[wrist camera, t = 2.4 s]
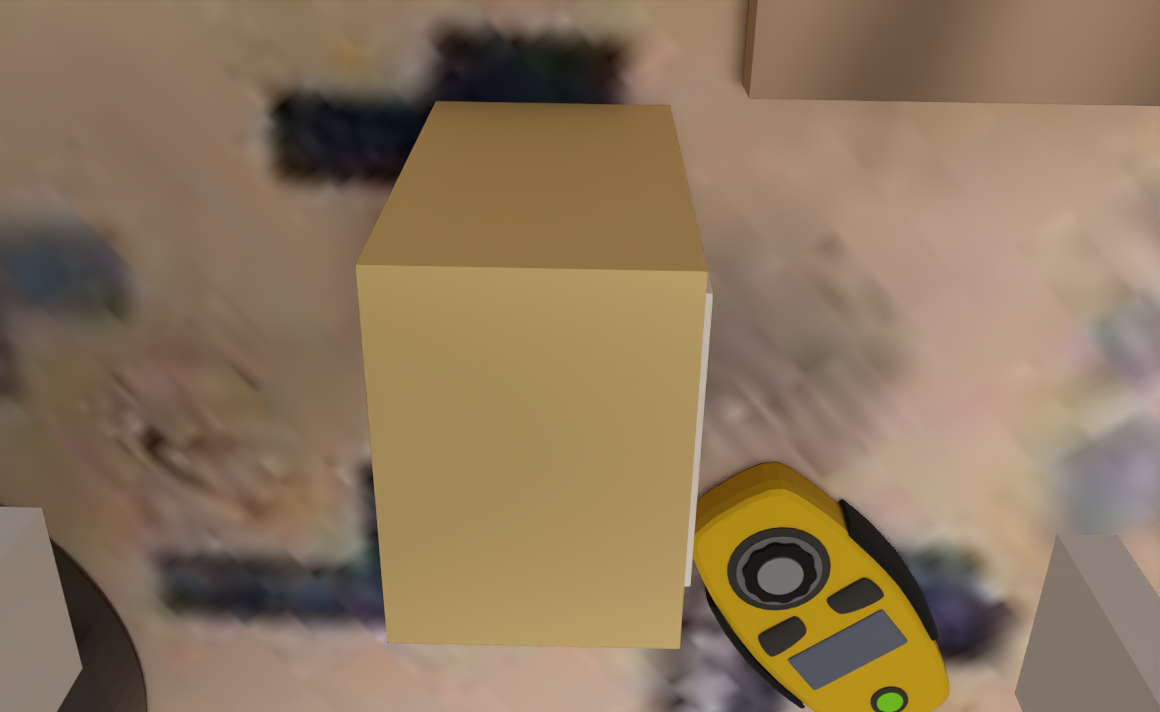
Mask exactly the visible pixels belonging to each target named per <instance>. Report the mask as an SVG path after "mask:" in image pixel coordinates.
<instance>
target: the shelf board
mask: <svg viewBox="0 0 1160 712" xmlns="http://www.w3.org/2000/svg"><path fill="white" fill-rule="evenodd" d="M742 84H743V87H744V89H745V91H746V93H747V95H748V97H749V98H750V99H805V100H860V101H915V102H971V103H1026V104H1081V105H1136V106H1160V0H749V9H748V21H747V33H746V45H745V57H744V69H743V81H742Z"/></svg>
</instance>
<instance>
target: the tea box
mask: <svg viewBox="0 0 1160 712" xmlns="http://www.w3.org/2000/svg"><path fill="white" fill-rule="evenodd" d="M355 267H356V278H357V290H358V302H359V314H360V326H361V337H362V349H363V361H364V373H365V384H366V396H367V408H368V420H369V432H370V443H371V455H372V467H373V479H374V490H375V502H376V514H377V526H378V538H379V549H380V561H381V573H382V585H383V597H384V608H385V620H386V632H387V643H415V644H465V645H514V646H564V647H613V648H663V649H680V637H681V623H682V610H683V597H684V586H690V583H691V570H692V557H693V545H694V532H695V519H696V506H697V493H698V481H699V468H700V455H701V442H702V429H703V416H704V404H705V391H706V378H707V365H708V352H709V339H710V327H711V314H712V301H713V291H712V287H711V282H710V278H709V274H708V269H707V265H706V261H705V256H704V252H703V248H702V243H701V239H700V234H699V230H698V226H697V221H696V217H695V213H694V208H693V204H692V200H691V195H690V191H689V186H688V182H687V178H686V173H685V169H684V165H683V161H682V157H681V152H680V148H679V143H678V139H677V135H676V130H675V126H674V122H673V117H672V113H671V109H670V105H616V104H561V103H506V102H451V101H436V102H435V104H434V106H433V108H432V110H431V112H430V114H429V116H428V118H427V120H426V122H425V124H424V126H423V129H422V131H421V133H420V135H419V137H418V139H417V141H416V143H415V145H414V147H413V149H412V151H411V153H410V155H409V157H408V159H407V161H406V163H405V165H404V167H403V169H402V171H401V173H400V175H399V177H398V179H397V181H396V183H395V185H394V187H393V189H392V191H391V194H390V196H389V198H388V200H387V202H386V204H385V206H384V208H383V210H382V212H381V214H380V216H379V218H378V220H377V222H376V224H375V226H374V228H373V230H372V232H371V234H370V236H369V238H368V240H367V242H366V244H365V246H364V248H363V250H362V252H361V254H360V256H359V259H358V261H357V263H356V265H355Z"/></svg>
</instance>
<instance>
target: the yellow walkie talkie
mask: <svg viewBox="0 0 1160 712" xmlns="http://www.w3.org/2000/svg"><path fill="white" fill-rule="evenodd" d="M840 503H841V505H840V504H838V503H837V502H836V501H835V500H833V499H832V498H831V497H830V496H829V495H827V494H826V493H825V492H824V491H822V490H821V489H820V488H819V487H817V486H816V485H815V484H813V483H812V482H810V481H809V480H807V479H806V478H805V477H803V476H802V475H800V474H799V473H797V472H796V471H794V470H792V469H791V468H789V467H788V466H785V465H783V464H780V463H777V462H771V463H762V464H760V465H757V466H755V467H752V468H750V469H747V470H745V471H742V472H740V473H738V474H736V475H735V476H733V477H731V478H730V479H728V480H726V481H725V482H723V483H721V484H720V485H718V486H716V487H715V488H713V489H711V490H710V491H708V492H707V493H706V494H705V495H704V496H702V497H701V498H700V499H699V500H698V501H697V506H696V519H695V532H694V545H693V558H694V561H695V564H696V566H697V568H698V571H699V573H700V575H701V577H702V580H703V582H704V584H705V589H706V596H707V600H708V603H709V606H710V608H711V610H712V612H713V614H714V615H715V617H716V619H717V621H718V622H719V624H720V626H721V627H722V629H723V631H724V632H725V634H726V635H727V637H728V638H729V639H730V641H731V642H732V643H733V645H734V646H735V647H736V649H737V650H738V651H739V653H740V654H741V655H742V656H743V658H744V659H745V660H746V661H747V663H748V664H749V665H750V666H751V667H752V668H753V669H754V670H755V671H756V672H757V673H758V674H759V675H760V676H761V677H763V678H764V679H765V680H766V681H767V682H768V683H769V684H770V685H771V686H772V687H773V688H774V689H776V690H777V691H778V692H779V693H781V694H782V695H783V696H785V697H786V698H787V699H788V700H790V701H791V702H793V703H794V704H796V705H797V706H798V707H800V708H802V709H803V708H805V706H804V705H803V703H804V704H805V705H806V706H808V707H809V708H810V709H812V710H813V711H814V712H930V711H932V710H933V709H935V708H936V707H938V706H939V705H941V704H942V703H943V702H944V701H945V699H946V698H947V697H948V696H949V681H948V677H947V672H946V668H945V665H944V662H943V659H942V656H941V653H940V650H939V648H938V645H937V643H936V639H937V638H938V632H937V628H936V625H935V623H934V620H933V618H932V615H931V613H930V611H929V608H928V606H927V603H926V601H925V599H924V596H923V594H922V592H921V590H920V588H919V586H918V584H917V582H916V581H915V579H914V578H913V576H912V574H911V573H910V571H909V570H908V568H907V567H906V565H905V563H904V562H903V560H902V559H901V558H900V556H899V555H898V553H897V552H896V550H895V549H894V548H893V547H892V546H891V545H890V543H889V542H888V541H887V540H886V539H885V538H884V537H883V536H882V535H881V533H880V532H879V531H878V530H877V529H876V528H875V527H874V526H873V525H872V524H871V523H870V522H869V521H868V520H867V519H866V518H865V517H863V516H862V515H861V514H860V513H859V512H858V511H857V510H856V509H854V508H853V507H852V506H851V505H849V504H848V503H847V502H846V501H844V500H843V499H842V500H840Z"/></svg>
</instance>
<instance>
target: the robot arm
mask: <svg viewBox="0 0 1160 712" xmlns="http://www.w3.org/2000/svg"><path fill="white" fill-rule="evenodd" d="M1015 695H1016V697H1017V699H1018V702H1019V704H1020V706H1021V708H1022V711H1023V712H1160V598H1159V596H1158V595H1157V593H1156V592H1155V590H1154V589H1153V588H1152V586H1151V585H1150V583H1149V582H1148V580H1147V579H1146V577H1145V576H1144V574H1143V573H1142V571H1141V570H1140V568H1139V567H1138V565H1137V564H1136V562H1135V561H1134V559H1133V558H1132V556H1131V555H1130V553H1129V552H1128V550H1127V549H1126V547H1125V546H1124V545H1123V543H1122V542H1121V540H1120V539H1119V537H1118V536H1117V535H1092V534H1057V536H1056V540H1055V544H1054V548H1053V551H1052V555H1051V559H1050V563H1049V567H1048V570H1047V574H1046V578H1045V582H1044V585H1043V589H1042V593H1041V597H1040V601H1039V604H1038V608H1037V612H1036V616H1035V619H1034V623H1033V627H1032V631H1031V635H1030V638H1029V642H1028V646H1027V650H1026V653H1025V657H1024V661H1023V665H1022V669H1021V672H1020V676H1019V680H1018V684H1017V687H1016V691H1015ZM0 712H146V698H145V691H144V685H143V680H142V676H141V673H140V669H139V665H138V663H137V660H136V657H135V655H134V652H133V649H132V647H131V645H130V643H129V641H128V639H127V637H126V634H125V633H124V631H123V629H122V627H121V626H120V624H119V622H118V620H117V619H116V617H115V616H114V614H113V613H112V611H111V610H110V608H109V607H108V605H107V604H106V603H105V601H104V600H103V599H102V597H101V596H100V595H99V594H98V592H97V591H96V590H95V589H94V587H93V586H92V585H91V584H90V583H89V582H88V581H87V580H86V578H85V577H84V576H83V575H82V574H81V573H80V572H79V571H78V570H77V569H76V568H75V567H74V566H73V565H72V564H71V563H70V562H69V561H68V560H67V559H66V558H65V557H64V556H62V555H61V554H60V553H59V552H58V551H57V550H56V549H54V548H53V547H52V546H51V543H50V539H49V535H48V531H47V527H46V523H45V519H44V515H43V511H42V508H33V507H0Z"/></svg>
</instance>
